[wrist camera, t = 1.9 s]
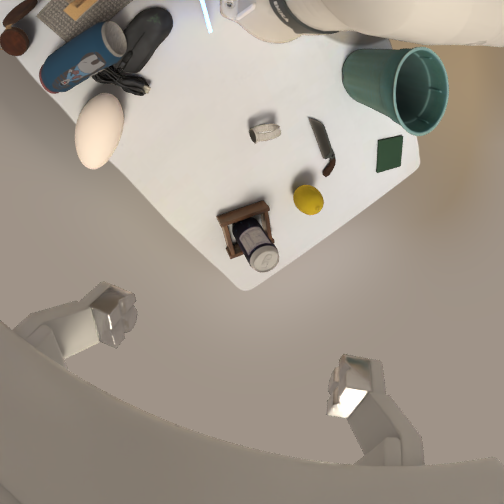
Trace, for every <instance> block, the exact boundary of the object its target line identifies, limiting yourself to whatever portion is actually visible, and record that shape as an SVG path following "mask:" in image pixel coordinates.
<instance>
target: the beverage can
mask: <svg viewBox="0 0 504 504" xmlns="http://www.w3.org/2000/svg"><path fill="white" fill-rule="evenodd" d="M233 235H234V237H235V239H236V240H237V242H238V244H239V246H240V248H241V250H242V251H243V253H244V255H245V257H246V259H247V261H248V262H249V264H250V266H251V267H252V268H254V269H255V270H256V271H258V272H268V271H270V270H272V269H273V268H274V267H275V266H276V265H277V264H278V262H279V255H278V250H277V248H276V247H275V245H274V244H273V242H272V241H271V239H270V238H269V237H268V235H267V234H266V232H265V231H264V229H263V228H262V227H261V225H260V224H259V222H258V221H257V220H256V219H255V218H253V217H249V218H247V219H244V220H241V221H238V222H236V223H235V225H234V227H233Z"/></svg>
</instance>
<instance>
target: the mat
mask: <svg viewBox="0 0 504 504" xmlns="http://www.w3.org/2000/svg"><path fill="white" fill-rule="evenodd" d="M402 144H403V136H397V137H392V138H387V139H382V140H378V150H377V168H376V172H377V173H379V172H382V171H386V170H389V169H393V168H396V167H400V166H401V156H402Z"/></svg>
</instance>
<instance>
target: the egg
mask: <svg viewBox="0 0 504 504" xmlns="http://www.w3.org/2000/svg"><path fill="white" fill-rule="evenodd" d="M123 124H124V115H123V110H122V107H121V104H120V102H119V101H118V99H117V98H116V97H115V96H114V95H112V94H109V93H101V94H99V95H97V96H95V97H94V98H92V99H91V100H90V101H89V102H88V103H87V104H86V105H85V106H84V108H83V109H82V111H81V113H80V115H79V117H78V120H77V124H76V130H75V144H76V150H77V154H78V157H79V159H80V161H81V162H82V163H83V165H84V166H86V167H87V168H89V169H97V168H99V167H101V166H103V165H104V164H105V163H106V162H107V161H108V160H109V159H110V157H111V156H112V154H113V153H114V151H115V149H116V147H117V145H118V143H119V141H120V138H121V134H122V131H123Z"/></svg>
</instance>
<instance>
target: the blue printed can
mask: <svg viewBox="0 0 504 504" xmlns="http://www.w3.org/2000/svg"><path fill="white" fill-rule="evenodd" d="M126 49H127V43H126V38H125V35H124V33H123V31H122V30H121V28H120V27H119V26H118V25H117V24H116V23H114V22H112V21H106V22H99V23H97V24H95V25H93V26H92V27H90V28H88V29H87V30H85V31H84V32H82V33H81V34H79V35H77V36H76V37H74V38H73V39H72V40H70V41H69V42H67V43H66V44H64V45H63V46H62V47H60V48H59V49H57V50H56V51H55V52H53V53H52V54H51V55H49V56H48V57H47V59H46V61H45V63H44V64H43V65H42V67H41V69H40V72H39V78H40V82H41V84H42V86H43V87H44V88H45V90H47V91H48V92H50V93H53V94H56V93H59V92H66V91H68V90H70V89H71V88H73V87H75V86H76V85H78V84H79V83H81V82H83V81H84V80H86V79H88V78H89V77H91V76H93V75H95V74H97V73H98V72H100V71H102V70H104V69H106V68H108V67H109V66H111V65H113V64H115V63H117V62H118V61H119V60H120V59H121V58H122V56H123V55H124V54H125V52H126Z"/></svg>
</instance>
